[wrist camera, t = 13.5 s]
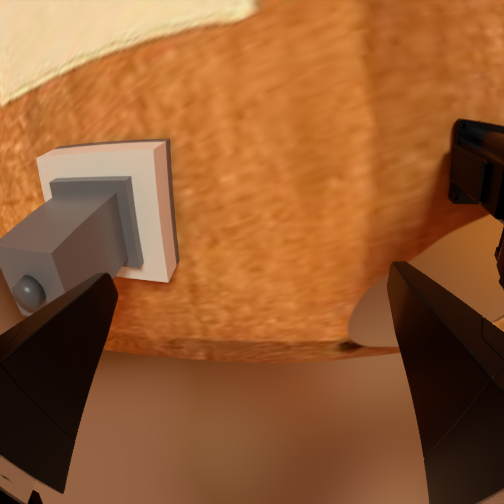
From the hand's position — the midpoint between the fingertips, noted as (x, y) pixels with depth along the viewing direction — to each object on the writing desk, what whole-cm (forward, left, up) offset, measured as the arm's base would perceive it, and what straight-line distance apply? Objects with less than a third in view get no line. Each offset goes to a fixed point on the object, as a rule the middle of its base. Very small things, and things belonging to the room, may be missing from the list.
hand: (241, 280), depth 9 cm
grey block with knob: (+12, +2, -12) cm, 17 cm away
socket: (+12, +2, -13) cm, 18 cm away
